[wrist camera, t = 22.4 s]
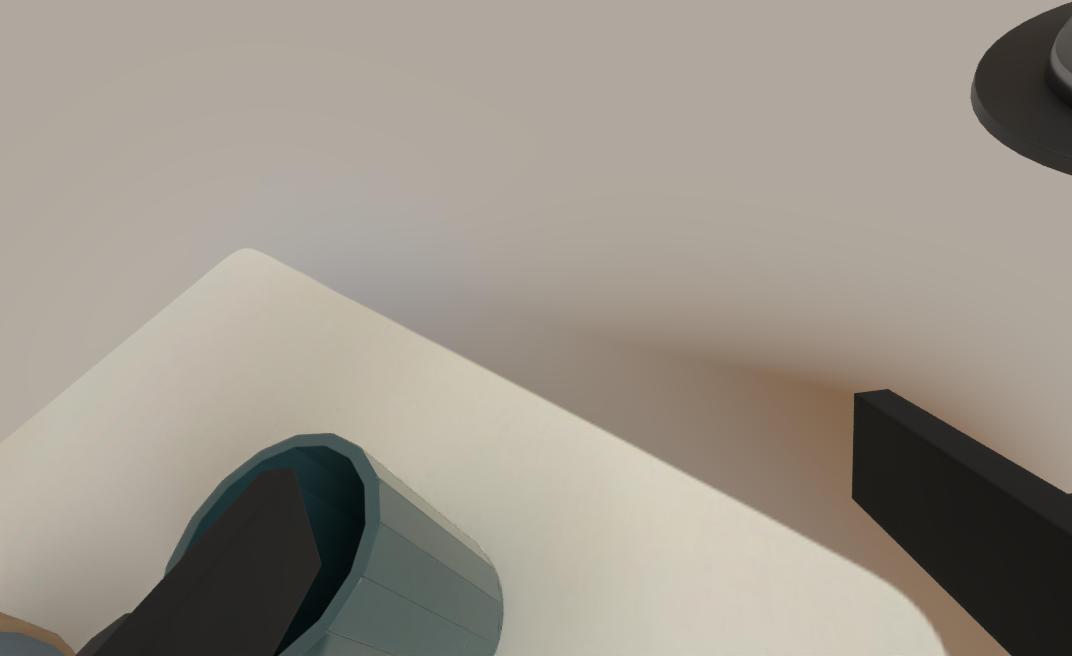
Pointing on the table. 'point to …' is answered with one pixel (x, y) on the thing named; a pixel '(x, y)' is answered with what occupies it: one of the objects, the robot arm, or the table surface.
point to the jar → (372, 559)
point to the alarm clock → (29, 639)
